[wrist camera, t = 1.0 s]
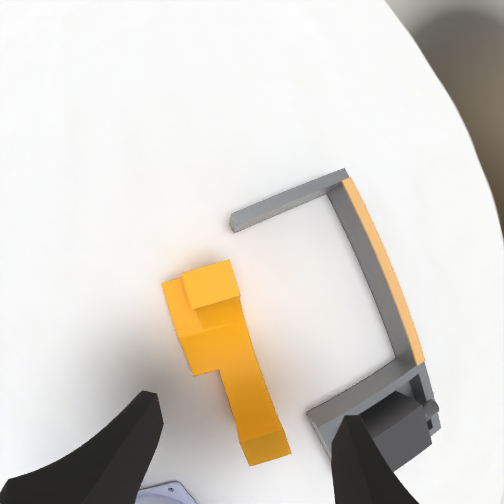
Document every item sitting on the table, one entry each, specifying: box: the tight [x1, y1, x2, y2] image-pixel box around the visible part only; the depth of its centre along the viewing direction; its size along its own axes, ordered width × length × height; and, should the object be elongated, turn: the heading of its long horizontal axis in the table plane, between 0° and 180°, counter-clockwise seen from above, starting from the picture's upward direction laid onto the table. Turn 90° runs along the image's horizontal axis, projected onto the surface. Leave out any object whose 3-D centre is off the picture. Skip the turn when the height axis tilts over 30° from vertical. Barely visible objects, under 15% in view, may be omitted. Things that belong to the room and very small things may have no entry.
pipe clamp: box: [161, 260, 291, 466], centre depth 18 cm, size 12×4×6 cm, turn 17°
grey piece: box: [230, 168, 441, 472], centre depth 20 cm, size 10×24×6 cm, turn 25°
